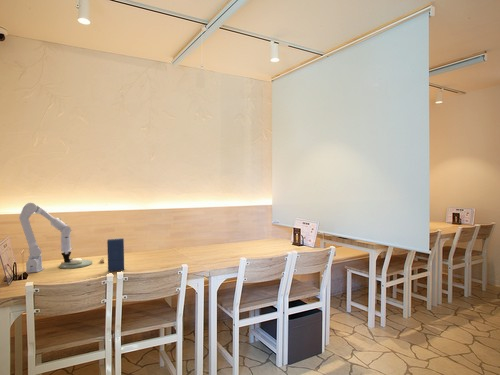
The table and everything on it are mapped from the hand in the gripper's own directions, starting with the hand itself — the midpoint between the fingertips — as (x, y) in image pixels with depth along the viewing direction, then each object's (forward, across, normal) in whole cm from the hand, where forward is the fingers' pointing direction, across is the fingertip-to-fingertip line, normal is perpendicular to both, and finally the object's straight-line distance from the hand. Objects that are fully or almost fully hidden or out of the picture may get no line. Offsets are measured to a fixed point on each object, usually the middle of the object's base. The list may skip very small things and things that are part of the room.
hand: (66, 262), depth 218 cm
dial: (+1, 0, -4) cm, 4 cm away
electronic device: (+2, -32, -26) cm, 42 cm away
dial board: (+2, -2, -6) cm, 6 cm away
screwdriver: (+2, -2, -22) cm, 22 cm away
